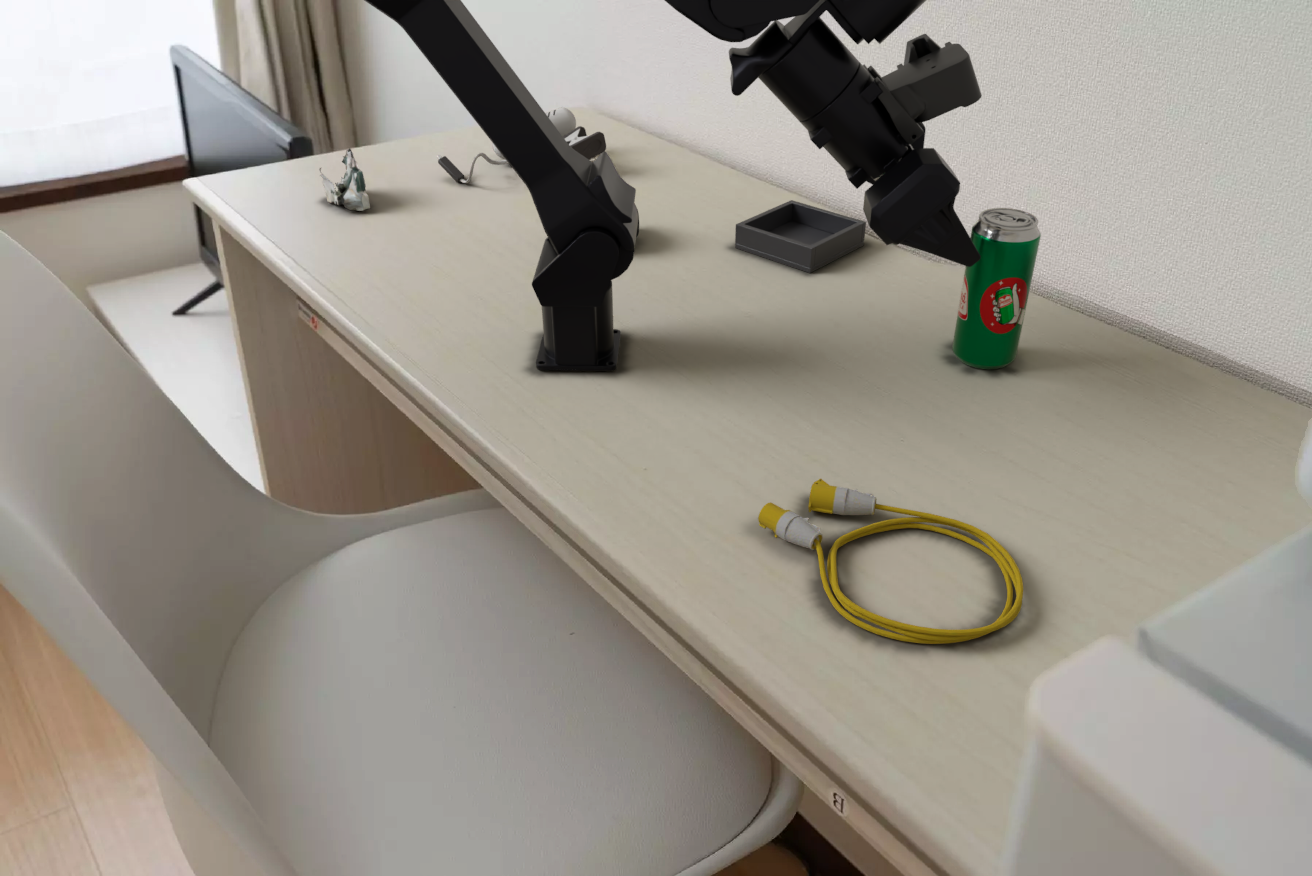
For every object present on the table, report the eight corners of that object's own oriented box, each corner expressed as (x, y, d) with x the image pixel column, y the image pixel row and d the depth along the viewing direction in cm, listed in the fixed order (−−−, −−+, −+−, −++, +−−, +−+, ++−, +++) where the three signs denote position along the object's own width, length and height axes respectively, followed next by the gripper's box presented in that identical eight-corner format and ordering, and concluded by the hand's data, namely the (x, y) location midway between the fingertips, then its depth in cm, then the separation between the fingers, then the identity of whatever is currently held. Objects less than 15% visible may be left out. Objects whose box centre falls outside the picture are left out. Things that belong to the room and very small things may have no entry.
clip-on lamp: (474, 222, 120) (613, 164, 125) (459, 173, 116) (603, 114, 121) (439, 182, 128) (571, 128, 133) (423, 134, 124) (560, 81, 129)
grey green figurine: (352, 190, 121) (342, 129, 117) (375, 211, 115) (365, 148, 111) (315, 197, 119) (303, 135, 115) (336, 219, 113) (325, 155, 110)
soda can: (961, 337, 90) (985, 201, 83) (1022, 352, 88) (1051, 213, 81) (942, 362, 86) (965, 221, 80) (1005, 378, 84) (1033, 235, 77)
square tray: (810, 273, 101) (812, 248, 100) (734, 247, 106) (735, 224, 105) (864, 245, 107) (866, 221, 105) (790, 222, 112) (791, 199, 111)
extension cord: (901, 473, 73) (905, 448, 72) (1065, 614, 61) (1072, 588, 60) (745, 518, 69) (746, 493, 68) (889, 680, 57) (893, 653, 56)
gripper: (946, 36, 65) (1091, 211, 70) (897, -19, 80) (1019, 127, 86) (807, 163, 69) (954, 318, 75) (786, 88, 85) (909, 220, 90)
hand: (962, 238), depth 81 cm, fingers open, 9 cm apart
